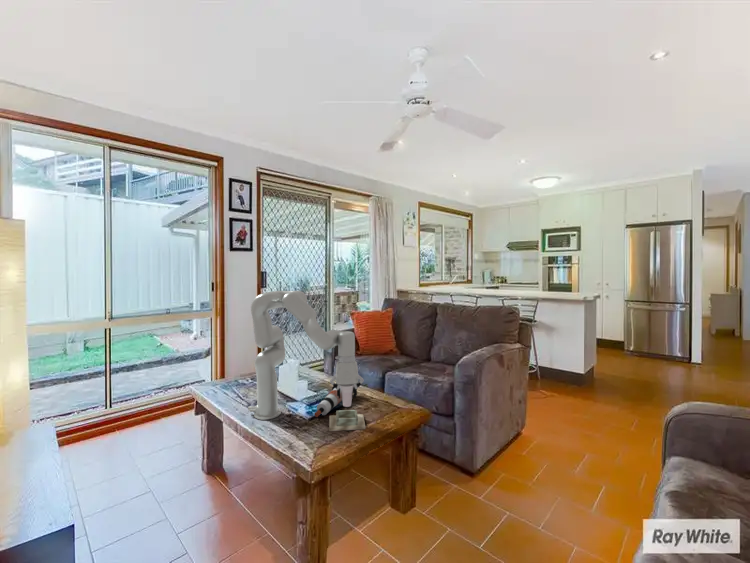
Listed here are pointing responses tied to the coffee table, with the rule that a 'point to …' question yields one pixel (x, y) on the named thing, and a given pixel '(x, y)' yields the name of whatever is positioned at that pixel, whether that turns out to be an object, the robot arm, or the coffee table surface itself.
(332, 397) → the white black banded cylinder
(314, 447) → the coffee table surface
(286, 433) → the coffee table surface
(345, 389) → the smoothie
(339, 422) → the end holder
